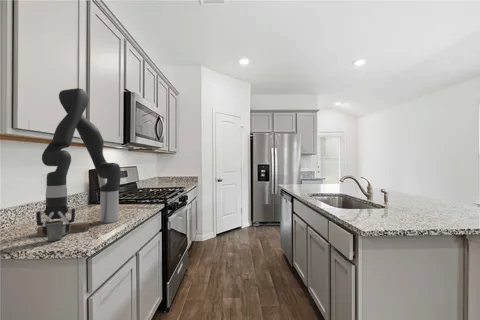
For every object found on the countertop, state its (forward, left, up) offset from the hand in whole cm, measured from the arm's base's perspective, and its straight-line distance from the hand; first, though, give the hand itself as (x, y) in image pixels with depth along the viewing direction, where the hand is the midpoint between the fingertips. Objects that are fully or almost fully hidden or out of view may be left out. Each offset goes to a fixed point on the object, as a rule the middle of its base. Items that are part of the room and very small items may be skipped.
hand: (56, 233), depth 110 cm
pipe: (-1, 0, -3) cm, 3 cm away
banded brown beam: (-10, +2, -3) cm, 11 cm away
